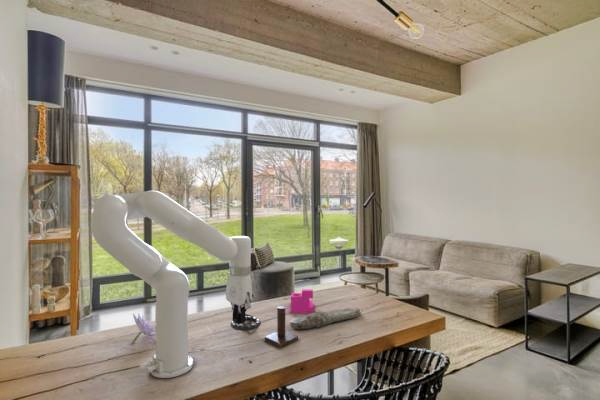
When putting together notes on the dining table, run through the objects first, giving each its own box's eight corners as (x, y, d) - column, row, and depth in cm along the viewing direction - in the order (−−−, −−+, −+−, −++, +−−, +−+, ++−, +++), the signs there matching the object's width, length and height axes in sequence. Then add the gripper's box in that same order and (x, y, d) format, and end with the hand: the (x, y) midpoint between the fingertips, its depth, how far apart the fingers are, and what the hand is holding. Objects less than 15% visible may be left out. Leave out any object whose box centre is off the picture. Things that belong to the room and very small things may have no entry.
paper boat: (265, 326, 131) (250, 327, 124) (256, 338, 132) (241, 340, 124) (249, 305, 138) (234, 305, 131) (241, 316, 139) (226, 317, 131)
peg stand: (280, 348, 114) (280, 313, 114) (264, 340, 121) (264, 307, 120) (298, 340, 121) (298, 307, 121) (282, 333, 127) (281, 301, 127)
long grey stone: (366, 320, 142) (352, 314, 151) (366, 308, 142) (352, 303, 151) (296, 332, 126) (285, 325, 134) (297, 319, 126) (286, 312, 135)
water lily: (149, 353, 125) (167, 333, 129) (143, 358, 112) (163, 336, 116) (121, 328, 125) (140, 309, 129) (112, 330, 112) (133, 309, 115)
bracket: (313, 313, 149) (312, 291, 148) (290, 313, 149) (290, 291, 149) (312, 304, 161) (312, 283, 160) (291, 304, 161) (291, 284, 161)
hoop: (242, 334, 104) (242, 329, 104) (225, 325, 111) (225, 320, 111) (266, 326, 112) (266, 321, 112) (248, 318, 119) (248, 313, 119)
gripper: (218, 268, 117) (217, 318, 117) (244, 276, 106) (243, 331, 106) (235, 266, 123) (234, 314, 123) (262, 273, 112) (260, 325, 112)
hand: (238, 321), depth 114 cm, fingers closed on hoop, 2 cm apart
